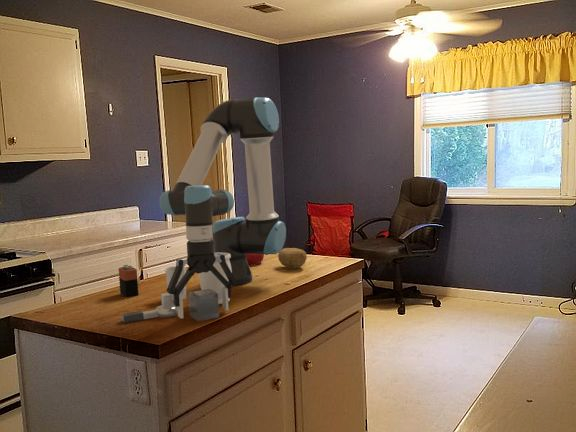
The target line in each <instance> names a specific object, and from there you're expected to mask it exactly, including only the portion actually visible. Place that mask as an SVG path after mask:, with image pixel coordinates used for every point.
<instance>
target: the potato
mask: <svg viewBox="0 0 576 432" xmlns="http://www.w3.org/2000/svg"><path fill="white" fill-rule="evenodd" d="M277 257H278V261H279V262H280V263H281V266H284V267H286V268H288V269H298V268H301V267H302V266H304V265H305V263H306V261H307V253H306V251H305V250H303V249H300V248H297V247H291V248H290V247H285V248H282V249H281V251H280V252H279V253H278V256H277Z"/></svg>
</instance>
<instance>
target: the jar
mask: <svg viewBox="0 0 576 432" xmlns="http://www.w3.org/2000/svg"><path fill="white" fill-rule="evenodd" d="M218 254H222V255H224V256H225V261H226V263H227V265H228V267H229V269H230V271H231V273H232V269H231V264H230V261H229V259H230V258H231V254H229V253H223V252H215V253H214V256H217V255H218ZM213 266H214V267H215V268H216V269H217V271H218V272H219V273H220V274H221V275H222V276H223V277H224V278H225V279H226V280H227V281H229V280H228V278H227V276H226V275H225V273H224V271H223V269H222V267H221V265H220V264H219V262H217V260H216V261H215V262H214V264H213ZM198 280H199V285H200V289H201V290H206V289H211V290H212V291H214V292H216V293H218V306H219V305H223V304H222V287H225V286H224V285H223V284H222V283H221V282H220V280H219V279H218V278H217V277H216V276H215V275H214V274H213V273H212V272H211V271H208V272H202V273H198ZM230 301H231V297H230V298H228V303H229V302H230Z"/></svg>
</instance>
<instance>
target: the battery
mask: <svg viewBox="0 0 576 432" xmlns="http://www.w3.org/2000/svg"><path fill="white" fill-rule="evenodd" d="M138 279H139V278H138V270H137V268H134V266H133V265H128V264H124V265H123V266H121V267H119V268H118V280H119V291H120V294H121V295H122V296H123V297H126V298H129V297H136V296H139V282H138Z"/></svg>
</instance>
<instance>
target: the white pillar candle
mask: <svg viewBox="0 0 576 432" xmlns="http://www.w3.org/2000/svg"><path fill="white" fill-rule="evenodd" d="M175 268H176V265H173V266H169V267H168V266H167V267H165V268H164V270H165V271H164V272H165V280H166V289H167V288H168V285H169V283H170V280H171V278H172V275H173V273H174V271H175ZM186 271H187V269H186V266H184V267H183V270H182V272H181V275H180V277H179V280H178V282H177V284H176V286H177V285H178V283H179V282H180V280H181V279H182V277H183V276H184V275H185V273H186ZM180 294H181V295H182V298H183V300H185V299H187V285H186V286H185V287H184V288H183V290H182V291H181V293H180ZM172 297H173V301H174V296H173V294H172Z"/></svg>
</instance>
